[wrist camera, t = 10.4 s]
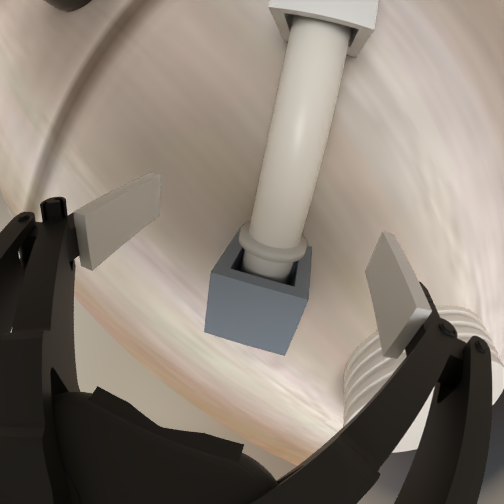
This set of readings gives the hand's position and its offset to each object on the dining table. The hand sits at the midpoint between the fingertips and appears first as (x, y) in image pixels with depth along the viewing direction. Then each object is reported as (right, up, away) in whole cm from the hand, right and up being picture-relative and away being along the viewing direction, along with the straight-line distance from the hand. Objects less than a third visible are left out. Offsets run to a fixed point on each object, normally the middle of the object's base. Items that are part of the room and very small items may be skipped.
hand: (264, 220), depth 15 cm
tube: (+4, +8, +10) cm, 14 cm away
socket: (+2, -3, +20) cm, 20 cm away
